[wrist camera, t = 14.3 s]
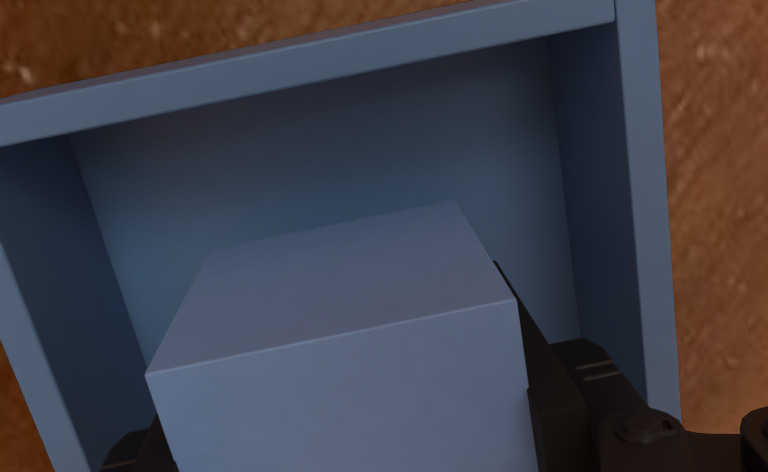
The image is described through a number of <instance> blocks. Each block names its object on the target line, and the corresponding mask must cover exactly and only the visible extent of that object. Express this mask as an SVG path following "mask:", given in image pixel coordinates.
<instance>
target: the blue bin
mask: <svg viewBox="0 0 768 472" xmlns="http://www.w3.org/2000/svg"><path fill="white" fill-rule="evenodd" d="M450 200H455V202H456V203H457V205H458V206H459V208H460V210H461V211H462V213H463V214H464V216H465V218H466V219H467V221H468V223H469V224H470V226H471V227H472V229H473V231H474V232H475V234H476V235H477V237H478V239H479V240H480V242H481V243H482V245H483V247H484V248H485V250H486V251H487V253H488V255H489V256H490V258H491V259H492V261H493V260H496V262H497V263H498V265H499V266H500V268H501V269H502V271H503V273H504V274H505V276H506V277H507V279H508V281H509V282H510V284H511V285H512V287H513V288H514V290H515V292H516V293H517V295H518V296H519V298H520V300H521V301H522V303H523V304H524V306H525V307H526V309H527V311H528V312H529V314H530V315H531V317H532V318H533V320H534V322H535V323H536V325H537V326H538V328H539V330H540V331H541V333H542V334H543V336H544V337H545V339H546V341H547V342H548V344H553V343H557V342H562V341H567V340H572V339H577V338H582V337H584V338H586V339H588V340H590V341H592V342H594V343H596V344H598V345H600V346H602V347H603V348H604V350H605V351H606V352H607V354H608V355H609V356H610V357H611V359H612V360H613V363H615V364H616V365H617V366H618V368H619V369H620V370H621V373H622V374H624V375H625V376H626V378H627V379H628V380H629V382H630V383H631V384H632V385H633V387H634V388H635V389H636V390H637V392H638V393H639V394H640V396H641V397H642V398H643V399H644V401H645V402H646V403H647V404H648V406H649V407H650V408H654V409H657V410H660V411H664V412H667V413H669V414H670V415H672V416H673V417H675V418H676V419H678V420H679V421H680V423H681V424H682V422H681V406H680V390H679V374H678V358H677V342H676V326H675V310H674V294H673V278H672V262H671V246H670V230H669V214H668V198H667V182H666V166H665V150H664V134H663V118H662V102H661V86H660V70H659V54H658V38H657V22H656V6H655V0H473V1H468V2H463V3H458V4H453V5H449V6H444V7H439V8H434V9H429V10H424V11H419V12H414V13H409V14H404V15H400V16H395V17H390V18H385V19H380V20H375V21H370V22H365V23H360V24H355V25H350V26H346V27H341V28H336V29H331V30H326V31H321V32H316V33H311V34H306V35H301V36H297V37H292V38H287V39H282V40H277V41H272V42H267V43H262V44H257V45H252V46H247V47H243V48H238V49H233V50H228V51H223V52H218V53H213V54H208V55H203V56H198V57H194V58H189V59H184V60H179V61H174V62H169V63H164V64H159V65H154V66H149V67H145V68H140V69H135V70H130V71H125V72H120V73H115V74H110V75H105V76H100V77H95V78H91V79H86V80H81V81H76V82H71V83H66V84H61V85H56V86H51V87H46V88H42V89H37V90H32V91H28V92H24V93H21V94H17V95H13V96H9V97H6V98H2V99H0V340H1V342H2V345H3V347H4V350H5V352H6V354H7V357H8V359H9V362H10V364H11V367H12V369H13V371H14V374H15V376H16V379H17V381H18V383H19V386H20V388H21V391H22V393H23V395H24V398H25V400H26V403H27V405H28V408H29V410H30V412H31V415H32V417H33V420H34V422H35V424H36V427H37V429H38V432H39V434H40V436H41V439H42V441H43V444H44V446H45V449H46V451H47V453H48V456H49V458H50V461H51V463H52V465H53V468H54V470H55V472H99V470H101V466H102V464H103V462H104V460H105V458H106V456H107V454H108V452H109V450H110V449H111V448H112V447H113V446H114V445H115V444H116V443H117V442H118V441H119V440H120V439H121V438H122V437H123V436H124V435H125V434H126V433H128V432H132V431H137V430H142V429H147V428H150V426H151V424H152V421H153V419H154V417H155V415H156V412H157V410H156V408H155V405H154V402H153V399H152V396H151V393H150V390H149V387H148V384H147V381H146V379H145V372H146V370H147V368H148V367H149V365H150V363H151V361H152V359H153V357H154V355H155V353H156V351H157V349H158V347H159V346H160V344H161V342H162V340H163V338H164V336H165V334H166V332H167V330H168V328H169V326H170V324H171V323H172V321H173V319H174V317H175V315H176V313H177V311H178V309H179V307H180V305H181V303H182V302H183V300H184V298H185V296H186V294H187V292H188V290H189V288H190V286H191V284H192V282H193V281H194V279H195V277H196V275H197V273H198V271H199V269H200V267H201V265H202V263H203V261H204V260H205V258H206V256H207V254H208V252H209V250H210V249H214V248H219V247H224V246H229V245H234V244H239V243H243V242H248V241H253V240H258V239H263V238H268V237H273V236H278V235H283V234H288V233H293V232H298V231H303V230H307V229H312V228H317V227H322V226H327V225H332V224H337V223H342V222H347V221H352V220H357V219H362V218H366V217H371V216H376V215H381V214H386V213H391V212H396V211H401V210H406V209H411V208H416V207H421V206H426V205H430V204H435V203H440V202H445V201H450Z"/></svg>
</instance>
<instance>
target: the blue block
mask: <svg viewBox="0 0 768 472" xmlns="http://www.w3.org/2000/svg"><path fill="white" fill-rule="evenodd" d="M145 379H146V381H147V384H148V387H149V390H150V393H151V396H152V399H153V402H154V405H155V408H156V410H157V413H158V416H159V419H160V422H161V425H162V428H163V431H164V434H165V437H166V439H167V442H168V445H169V448H170V451H171V454H172V457H173V460H174V461H176V464H177V467H178V470H179V472H539V471H538V464H537V457H536V450H535V443H534V436H533V429H532V422H531V415H530V408H529V401H528V394H527V389H528V388H529V384H528V377H527V370H526V363H525V355H524V348H523V341H522V334H521V327H520V320H519V313H518V306H517V300H516V298H515V296H514V295H513V293H512V292H511V290H510V288H509V287H508V285H507V284H506V282H505V280H504V279H503V277H502V276H501V274H500V272H499V271H498V269H497V268H496V266H495V264H494V263H493V261H492V259H491V258H490V256H489V255H488V253H487V251H486V250H485V248H484V247H483V245H482V243H481V242H480V240H479V239H478V237H477V235H476V234H475V232H474V231H473V229H472V227H471V226H470V224H469V223H468V221H467V219H466V218H465V216H464V214H463V213H462V211H461V210H460V208H459V206H458V205H457V203H456V202H455V200H450V201H445V202H440V203H435V204H430V205H426V206H421V207H416V208H411V209H406V210H401V211H396V212H391V213H386V214H381V215H376V216H371V217H366V218H362V219H357V220H352V221H347V222H342V223H337V224H332V225H327V226H322V227H317V228H312V229H307V230H303V231H298V232H293V233H288V234H283V235H278V236H273V237H268V238H263V239H258V240H253V241H248V242H243V243H239V244H234V245H229V246H224V247H219V248H214V249H210V250H209V252H208V254H207V256H206V258H205V260H204V261H203V263H202V265H201V267H200V269H199V271H198V273H197V275H196V277H195V279H194V281H193V282H192V284H191V286H190V288H189V290H188V292H187V294H186V296H185V298H184V300H183V302H182V303H181V305H180V307H179V309H178V311H177V313H176V315H175V317H174V319H173V321H172V323H171V324H170V326H169V328H168V330H167V332H166V334H165V336H164V338H163V340H162V342H161V344H160V346H159V347H158V349H157V351H156V353H155V355H154V357H153V359H152V361H151V363H150V365H149V367H148V368H147V370H146V372H145Z"/></svg>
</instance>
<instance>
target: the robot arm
mask: <svg viewBox="0 0 768 472" xmlns="http://www.w3.org/2000/svg"><path fill="white" fill-rule="evenodd" d="M493 263H494V264H495V266H496V268H497V269H498V271H499V272H500V274H501V276H502V277H503V279H504V280H505V282H506V284H507V285H508V287H509V288H510V290H511V292H512V293H513V295H514V296H515V298H516V300H517V306H518V313H519V320H520V327H521V334H522V341H523V348H524V355H525V363H526V370H527V377H528V384H529V388H528V389H527V394H528V401H529V408H530V415H531V422H532V429H533V436H534V443H535V450H536V457H537V464H538V471H539V472H768V406H767V407H763V408H760V409H756V410H753V411H751V412H750V413H748V414H747V415H746V416H745V417H743V418H742V422H741V425H740V434H706V433H695V432H690V431H686V430H685V429H684V428H683V426H682V424H681V423H680V421H679V420H678V419H676V418H675V417H673V416H672V415H670V414H669V413H667V412H664V411H660V410H657V409H654V408H650V407H649V406H648V404H647V403H646V402H645V401H644V399H643V398H642V397H641V396H640V394H639V393H638V392H637V390H636V389H635V388H634V387H633V385H632V384H631V383H630V382H629V380H628V379H627V378H626V376H625V375H624V374H622V373H621V370H620V369H619V368H618V366H617V365H616V364H615V363H613V360H612V359H611V357H610V356H609V355H608V354H607V352H606V351H605V350H604V348H603V347H602V346H600V345H598V344H596V343H594V342H592V341H590V340H588V339H586V338H584V337H582V338H577V339H572V340H567V341H562V342H557V343H553V344H548V342H547V341H546V339H545V337H544V336H543V334H542V333H541V331H540V330H539V328H538V326H537V325H536V323H535V322H534V320H533V318H532V317H531V315H530V314H529V312H528V311H527V309H526V307H525V306H524V304H523V303H522V301H521V300H520V298H519V296H518V295H517V293H516V292H515V290H514V288H513V287H512V285H511V284H510V282H509V281H508V279H507V277H506V276H505V274H504V273H503V271H502V269H501V268H500V266H499V265H498V263H497V262H496V260H493ZM99 472H179V470H178V467H177V464H176V461H174V460H173V457H172V454H171V451H170V448H169V445H168V442H167V439H166V437H165V434H164V431H163V428H162V425H161V422H160V419H159V416H158V413H157V412H156V415H155V417H154V419H153V421H152V424H151V426H150V428H147V429H142V430H137V431H132V432H128V433H126V434H125V435H124V436H123V437H122V438H121V439H120V440H119V441H118V442H117V443H116V444H115V445H114V446H113V447H112V448H111V449H110V450H109V452H108V454H107V456H106V458H105V460H104V462H103V464H102V466H101V470H99Z"/></svg>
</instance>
